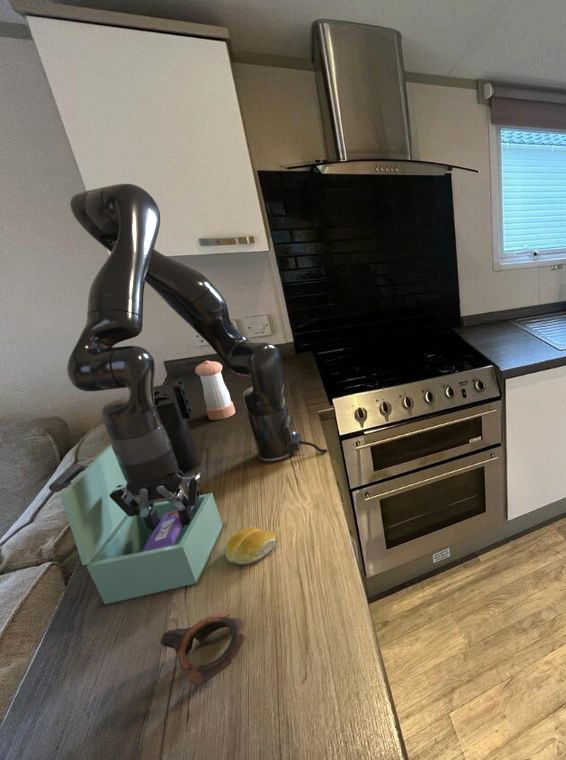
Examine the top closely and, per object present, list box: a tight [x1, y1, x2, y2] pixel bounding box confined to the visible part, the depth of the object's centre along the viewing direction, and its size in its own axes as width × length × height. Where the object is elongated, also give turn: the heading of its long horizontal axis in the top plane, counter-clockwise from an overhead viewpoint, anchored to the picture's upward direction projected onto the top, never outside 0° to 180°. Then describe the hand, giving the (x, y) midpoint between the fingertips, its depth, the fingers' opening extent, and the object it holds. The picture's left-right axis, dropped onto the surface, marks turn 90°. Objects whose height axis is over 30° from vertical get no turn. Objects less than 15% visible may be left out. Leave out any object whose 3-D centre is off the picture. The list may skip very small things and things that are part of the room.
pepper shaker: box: [194, 360, 236, 421], centre depth 141 cm, size 7×7×19 cm
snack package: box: [142, 506, 194, 552], centre depth 85 cm, size 12×2×5 cm
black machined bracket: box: [154, 379, 197, 474], centre depth 117 cm, size 12×21×22 cm, turn 39°
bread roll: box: [224, 526, 277, 565], centre depth 90 cm, size 8×9×4 cm
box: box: [86, 492, 224, 605], centre depth 86 cm, size 14×16×9 cm
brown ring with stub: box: [160, 612, 248, 686], centre depth 69 cm, size 12×10×8 cm
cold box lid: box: [48, 443, 127, 566], centre depth 79 cm, size 15×16×5 cm
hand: (172, 524), depth 86 cm, fingers closed on snack package, 4 cm apart
